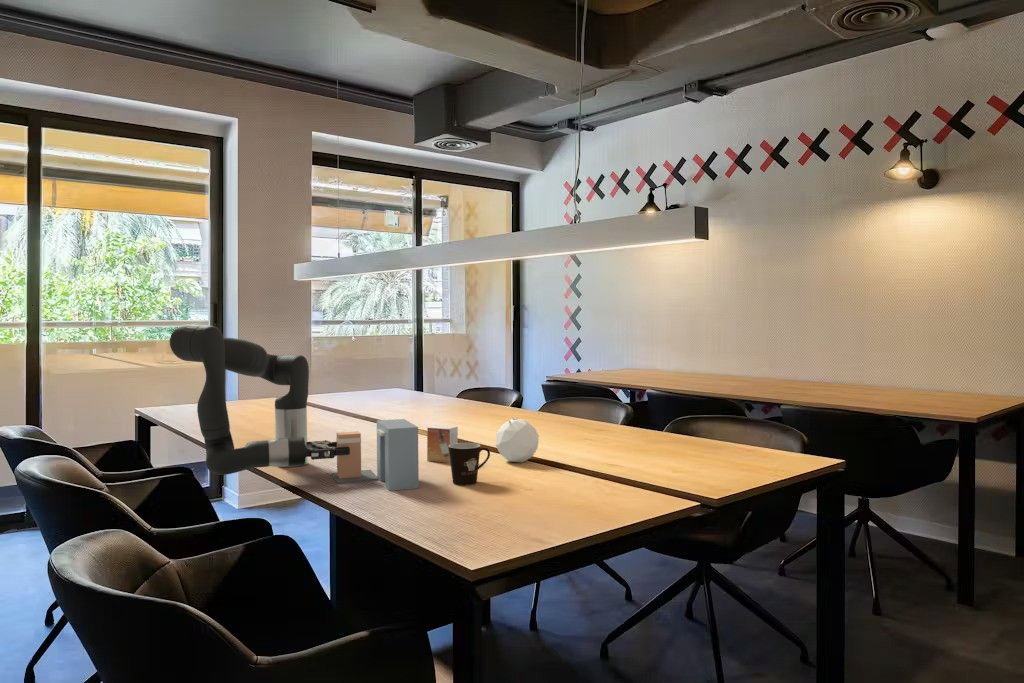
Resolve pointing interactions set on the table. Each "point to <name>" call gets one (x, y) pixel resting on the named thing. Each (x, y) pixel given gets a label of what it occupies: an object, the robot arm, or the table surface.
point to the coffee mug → (465, 462)
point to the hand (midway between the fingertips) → (347, 447)
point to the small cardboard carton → (351, 462)
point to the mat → (365, 476)
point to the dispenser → (397, 454)
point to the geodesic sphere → (517, 440)
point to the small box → (440, 442)
